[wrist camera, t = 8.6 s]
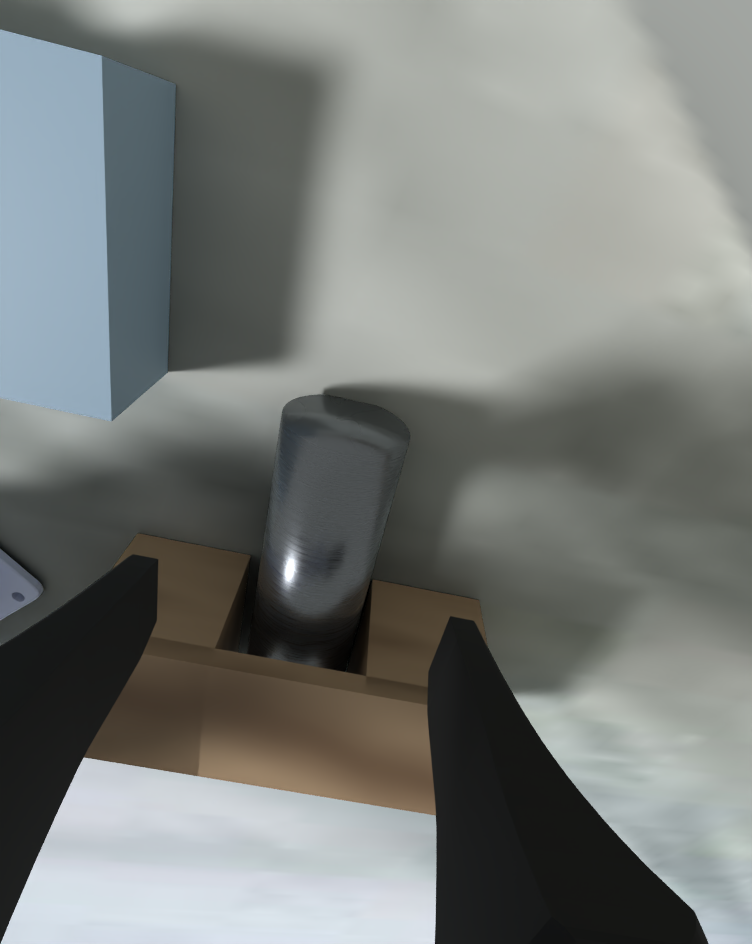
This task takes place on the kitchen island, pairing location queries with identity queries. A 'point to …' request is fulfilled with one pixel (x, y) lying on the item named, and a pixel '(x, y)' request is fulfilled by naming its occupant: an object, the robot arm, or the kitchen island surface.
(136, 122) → the v block
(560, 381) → the kitchen island surface
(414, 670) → the beam
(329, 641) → the axle
